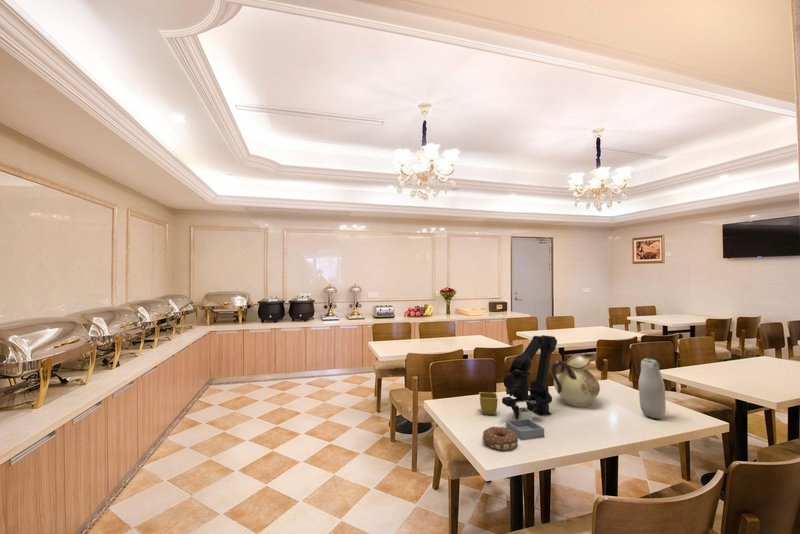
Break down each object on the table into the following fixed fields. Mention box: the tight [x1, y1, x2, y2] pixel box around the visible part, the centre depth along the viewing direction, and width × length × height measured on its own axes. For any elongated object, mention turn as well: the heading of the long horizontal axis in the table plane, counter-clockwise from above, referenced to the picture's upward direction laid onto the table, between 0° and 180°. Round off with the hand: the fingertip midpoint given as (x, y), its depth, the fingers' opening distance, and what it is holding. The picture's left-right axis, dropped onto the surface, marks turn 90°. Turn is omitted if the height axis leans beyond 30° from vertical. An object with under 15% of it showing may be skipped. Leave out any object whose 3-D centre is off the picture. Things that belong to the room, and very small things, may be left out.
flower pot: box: [478, 391, 499, 416], centre depth 173 cm, size 9×9×9 cm
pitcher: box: [550, 353, 601, 408], centre depth 186 cm, size 22×24×25 cm
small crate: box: [513, 407, 533, 421], centre depth 163 cm, size 6×6×5 cm
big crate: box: [505, 419, 545, 441], centre depth 150 cm, size 11×11×4 cm
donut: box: [482, 426, 519, 451], centre depth 140 cm, size 14×14×5 cm
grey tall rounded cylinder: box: [637, 357, 667, 419], centre depth 166 cm, size 10×10×28 cm
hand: (522, 418), depth 163 cm, fingers closed on small crate, 6 cm apart
